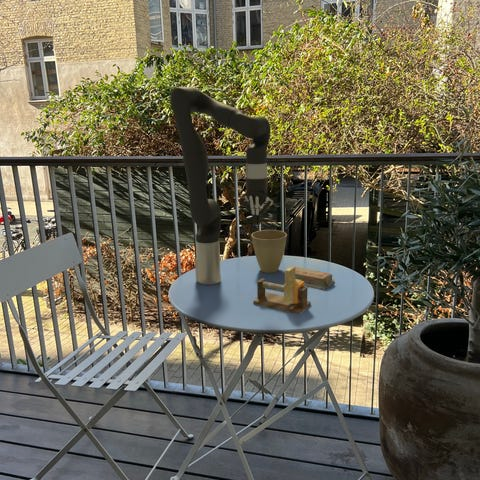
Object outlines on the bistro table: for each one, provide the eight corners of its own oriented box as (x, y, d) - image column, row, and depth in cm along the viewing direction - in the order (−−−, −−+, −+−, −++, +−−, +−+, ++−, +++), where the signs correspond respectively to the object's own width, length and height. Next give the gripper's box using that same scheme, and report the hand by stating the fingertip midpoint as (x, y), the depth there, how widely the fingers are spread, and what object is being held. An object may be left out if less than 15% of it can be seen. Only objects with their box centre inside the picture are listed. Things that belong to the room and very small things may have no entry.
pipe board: (253, 303, 162) (253, 283, 159) (265, 295, 169) (265, 275, 167) (299, 314, 152) (299, 293, 150) (310, 304, 159) (310, 284, 157)
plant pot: (245, 268, 198) (245, 232, 194) (275, 262, 204) (275, 228, 200) (262, 278, 185) (262, 241, 181) (293, 272, 192) (293, 235, 187)
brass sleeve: (283, 301, 156) (284, 270, 153) (292, 295, 161) (292, 265, 158) (293, 303, 154) (293, 272, 151) (301, 297, 159) (301, 267, 156)
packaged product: (335, 271, 179) (324, 279, 171) (335, 283, 180) (324, 291, 172) (295, 263, 189) (283, 270, 181) (295, 274, 190) (283, 282, 182)
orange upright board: (293, 302, 154) (293, 286, 152) (300, 296, 159) (301, 280, 157) (296, 303, 153) (296, 287, 152) (304, 297, 158) (304, 281, 157)
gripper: (278, 176, 157) (278, 224, 162) (246, 173, 164) (246, 220, 169) (268, 179, 151) (268, 229, 156) (234, 176, 158) (235, 224, 163)
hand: (257, 224), depth 162 cm, fingers closed
